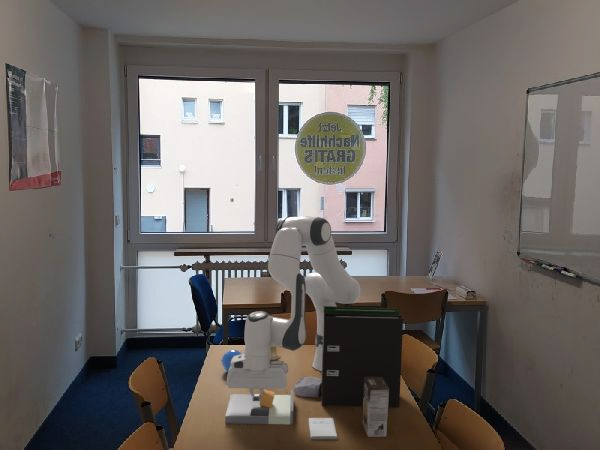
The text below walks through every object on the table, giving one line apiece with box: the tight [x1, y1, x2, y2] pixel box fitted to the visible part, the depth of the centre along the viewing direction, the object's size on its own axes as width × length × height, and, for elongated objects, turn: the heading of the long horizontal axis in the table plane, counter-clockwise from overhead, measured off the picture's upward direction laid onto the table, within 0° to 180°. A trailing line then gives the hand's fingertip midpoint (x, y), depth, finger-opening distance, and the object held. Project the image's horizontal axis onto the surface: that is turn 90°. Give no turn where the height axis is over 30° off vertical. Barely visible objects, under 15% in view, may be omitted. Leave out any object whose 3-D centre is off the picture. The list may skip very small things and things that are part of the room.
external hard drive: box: [308, 417, 338, 440], centre depth 180 cm, size 2×8×12 cm
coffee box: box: [362, 377, 389, 438], centre depth 179 cm, size 9×6×16 cm
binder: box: [321, 306, 404, 408], centre depth 202 cm, size 27×15×32 cm, turn 88°
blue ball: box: [220, 350, 243, 373], centre depth 226 cm, size 10×12×10 cm
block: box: [260, 389, 276, 408], centre depth 191 cm, size 4×4×4 cm
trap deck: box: [224, 389, 294, 425], centre depth 191 cm, size 22×17×4 cm
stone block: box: [293, 376, 322, 398], centre depth 210 cm, size 12×5×10 cm
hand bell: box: [269, 345, 281, 361], centre depth 244 cm, size 8×8×16 cm
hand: (256, 400), depth 191 cm, fingers closed
